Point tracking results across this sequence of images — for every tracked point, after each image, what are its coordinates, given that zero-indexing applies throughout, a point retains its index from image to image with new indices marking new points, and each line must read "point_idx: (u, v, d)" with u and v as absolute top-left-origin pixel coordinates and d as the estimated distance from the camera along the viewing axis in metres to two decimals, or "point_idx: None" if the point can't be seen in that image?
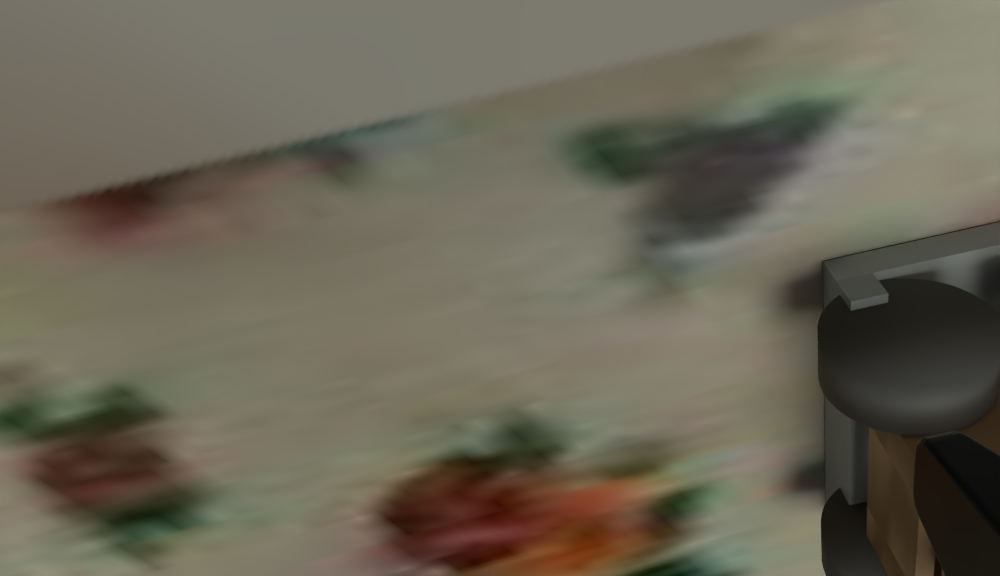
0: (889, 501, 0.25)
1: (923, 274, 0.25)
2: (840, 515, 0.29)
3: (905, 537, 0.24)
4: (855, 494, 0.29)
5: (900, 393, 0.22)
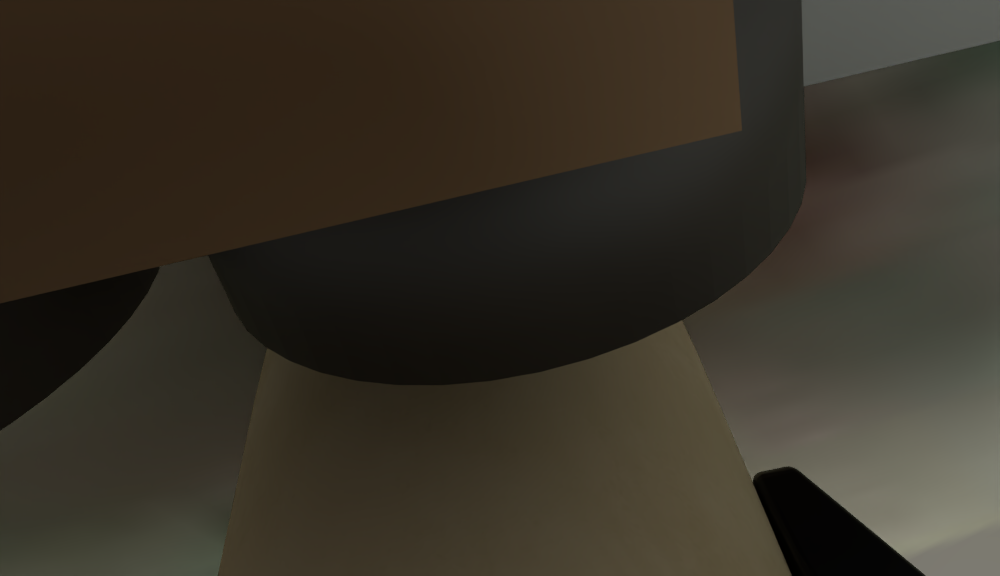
0: None
1: None
2: None
3: None
4: None
5: None
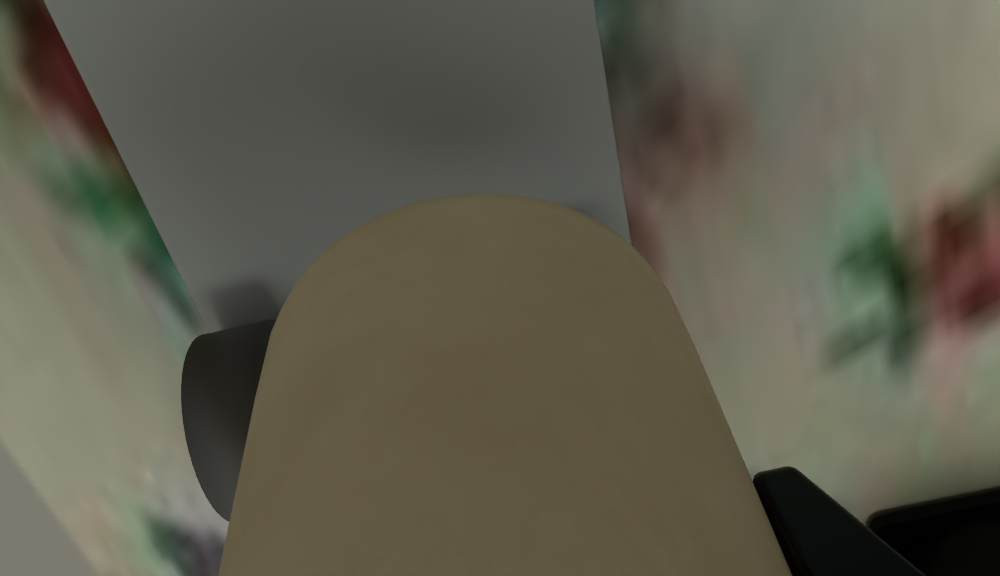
0: None
1: None
2: None
3: None
4: None
5: None
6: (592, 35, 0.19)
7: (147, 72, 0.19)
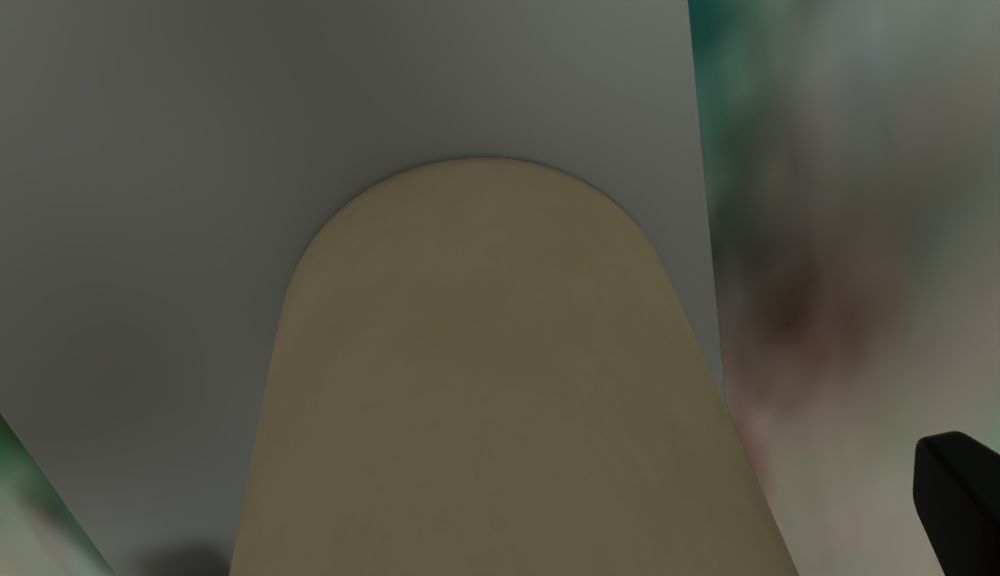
0: None
1: None
2: None
3: None
4: None
5: None
6: (699, 225, 0.13)
7: (18, 288, 0.12)
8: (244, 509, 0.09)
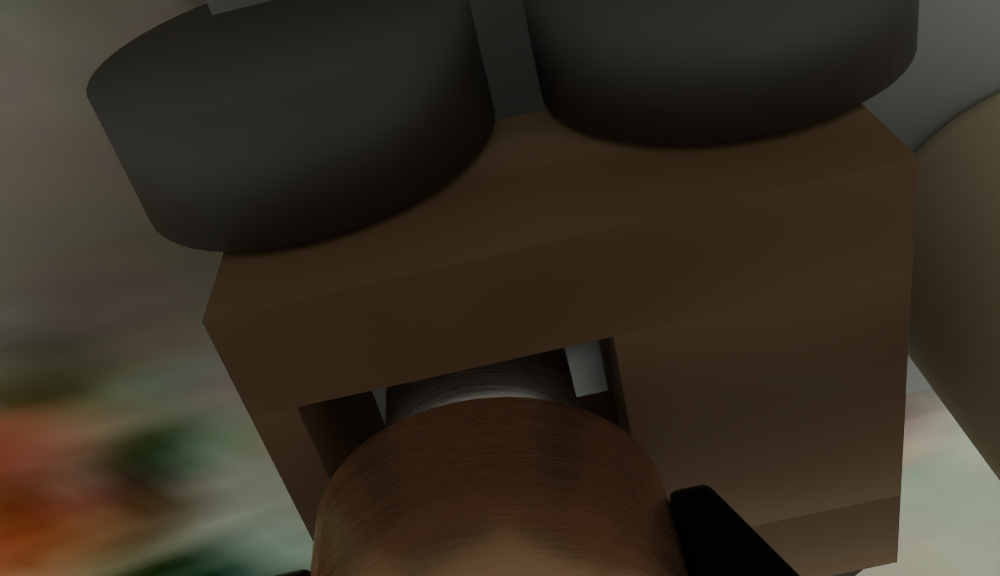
0: None
1: None
2: None
3: None
4: None
5: (160, 136, 0.09)
6: None
7: None
8: None
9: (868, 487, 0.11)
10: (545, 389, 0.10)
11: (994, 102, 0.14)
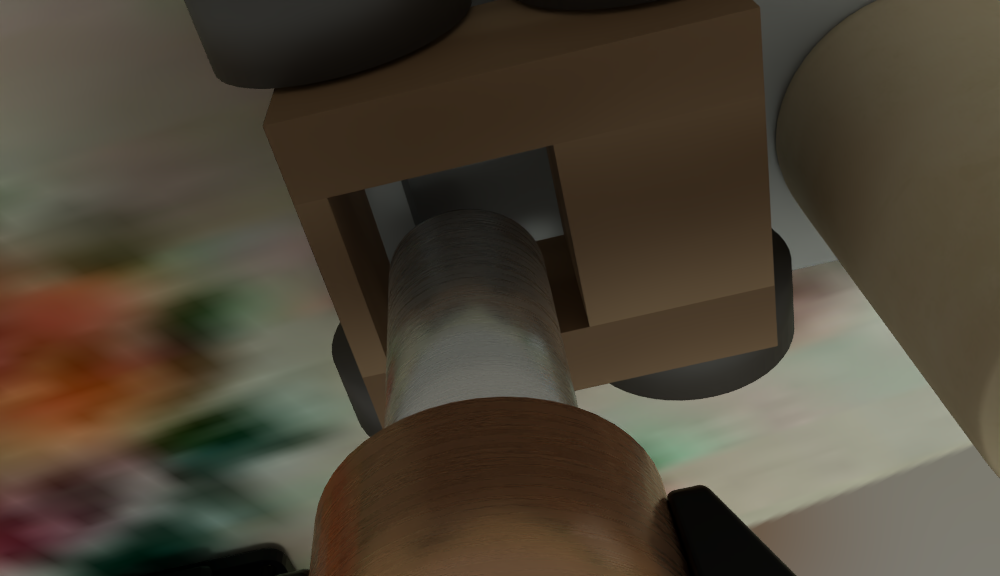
0: None
1: None
2: None
3: None
4: None
5: None
6: None
7: None
8: None
9: (749, 278, 0.15)
10: (545, 389, 0.10)
11: (867, 8, 0.18)
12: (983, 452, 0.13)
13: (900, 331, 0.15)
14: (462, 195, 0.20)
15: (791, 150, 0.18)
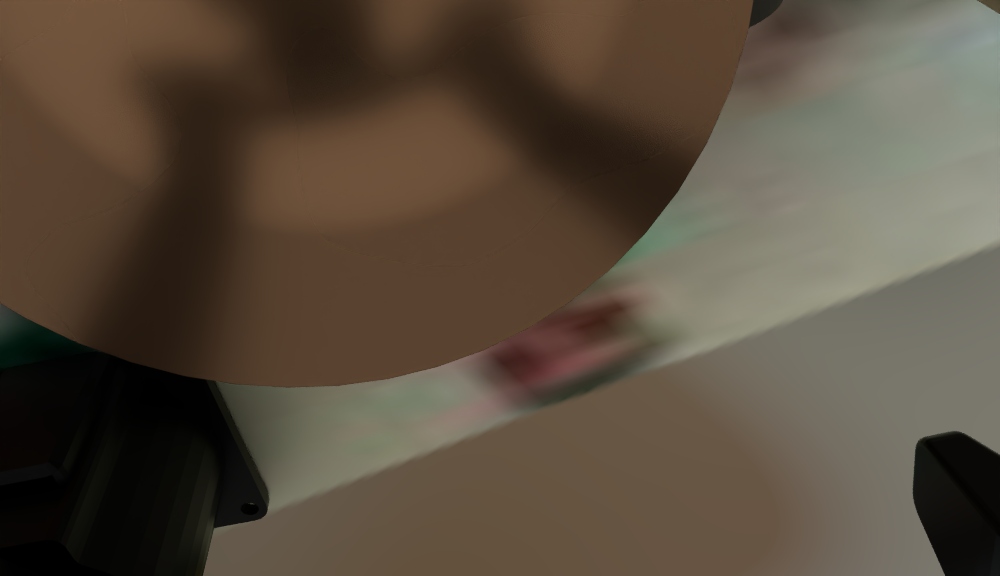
0: None
1: None
2: None
3: None
4: None
5: None
6: None
7: None
8: None
9: None
10: None
11: None
12: None
13: None
14: None
15: None
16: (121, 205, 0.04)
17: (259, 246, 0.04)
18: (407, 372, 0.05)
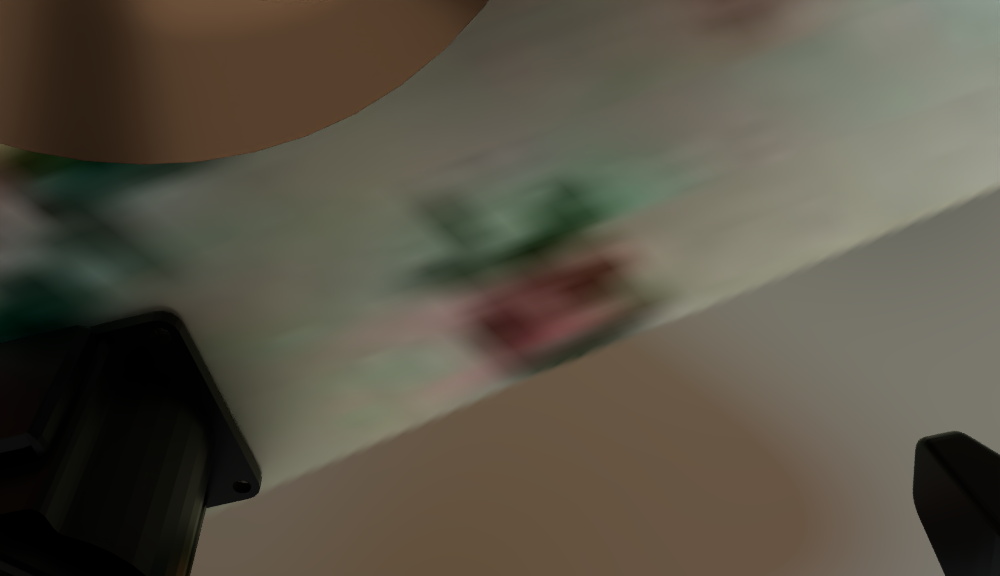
0: None
1: None
2: None
3: None
4: None
5: None
6: None
7: None
8: None
9: None
10: None
11: None
12: None
13: None
14: None
15: None
16: None
17: None
18: None
